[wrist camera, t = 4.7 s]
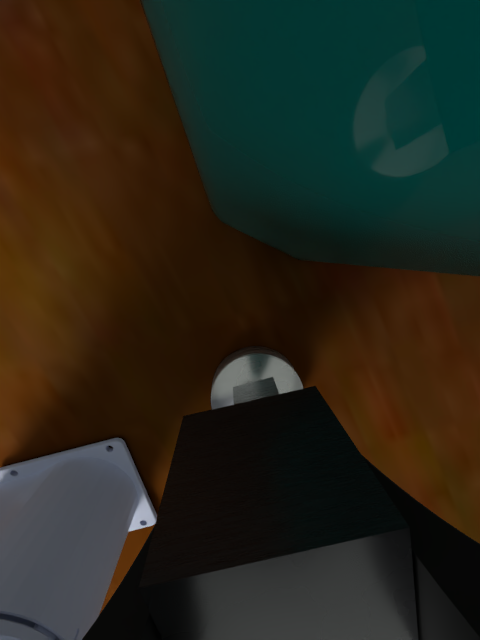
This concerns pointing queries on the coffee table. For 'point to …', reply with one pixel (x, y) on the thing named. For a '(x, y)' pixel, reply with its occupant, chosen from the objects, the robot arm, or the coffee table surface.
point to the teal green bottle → (334, 123)
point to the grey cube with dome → (277, 532)
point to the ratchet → (252, 376)
